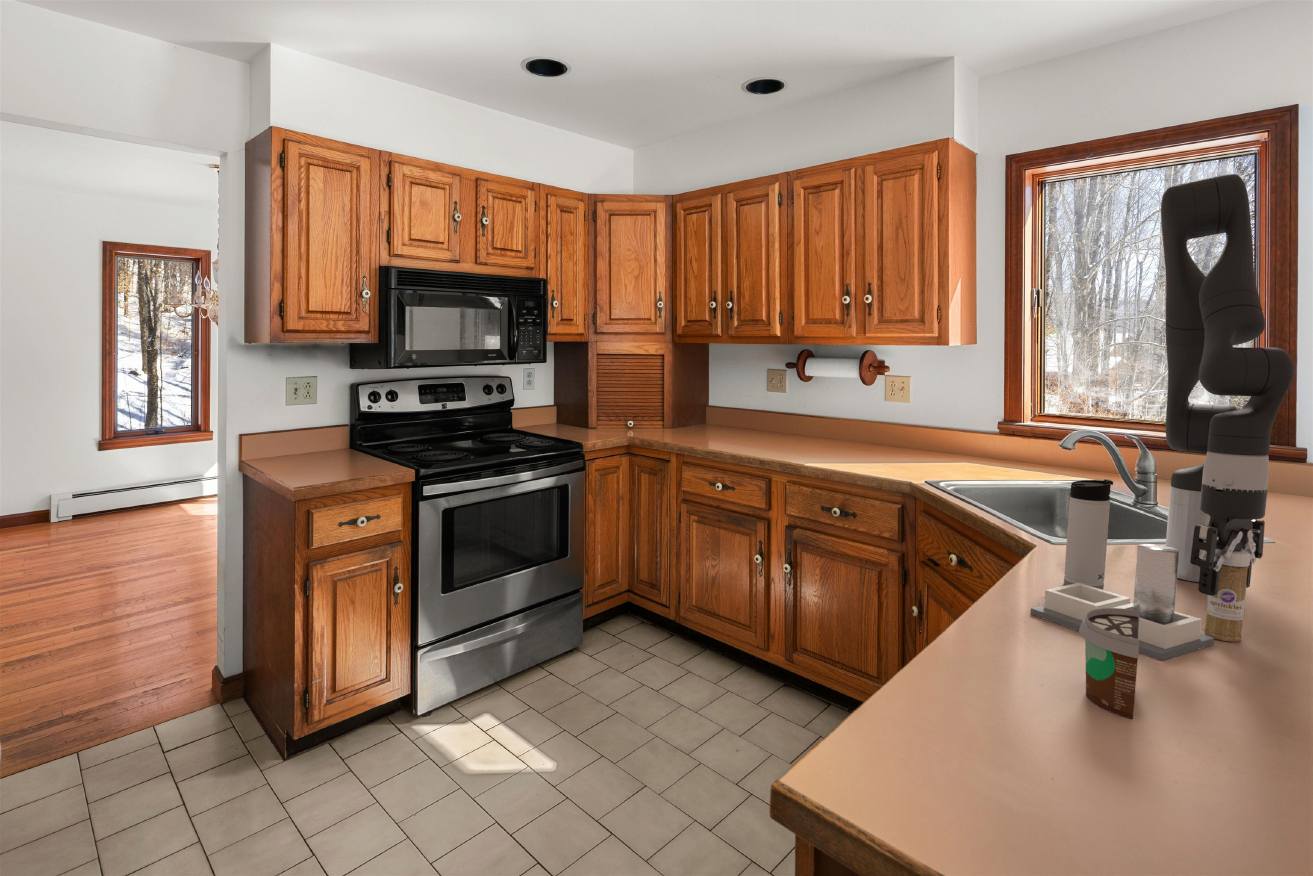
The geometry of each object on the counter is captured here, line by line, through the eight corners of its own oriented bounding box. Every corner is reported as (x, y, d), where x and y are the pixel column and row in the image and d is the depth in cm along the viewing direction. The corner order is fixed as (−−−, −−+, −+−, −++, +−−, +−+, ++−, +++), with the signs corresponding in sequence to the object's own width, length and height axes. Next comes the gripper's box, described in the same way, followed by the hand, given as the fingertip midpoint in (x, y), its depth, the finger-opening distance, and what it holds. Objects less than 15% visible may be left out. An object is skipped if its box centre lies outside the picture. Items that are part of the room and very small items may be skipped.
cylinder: (1143, 625, 108) (1150, 542, 107) (1179, 636, 104) (1187, 550, 103) (1123, 630, 106) (1130, 546, 105) (1159, 642, 102) (1166, 554, 100)
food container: (1078, 672, 95) (1083, 600, 93) (1134, 684, 91) (1140, 609, 90) (1070, 709, 84) (1076, 629, 83) (1132, 724, 81) (1139, 641, 80)
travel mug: (1111, 593, 126) (1119, 483, 124) (1071, 591, 127) (1078, 482, 125) (1097, 582, 132) (1104, 477, 130) (1058, 580, 133) (1065, 476, 131)
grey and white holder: (1081, 602, 122) (1082, 579, 121) (1213, 644, 104) (1215, 618, 103) (1030, 614, 116) (1031, 590, 115) (1161, 660, 98) (1163, 633, 98)
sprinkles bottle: (1209, 640, 105) (1217, 552, 104) (1199, 629, 109) (1206, 544, 108) (1247, 644, 103) (1256, 555, 102) (1235, 633, 108) (1243, 547, 106)
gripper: (1231, 477, 110) (1222, 578, 112) (1177, 482, 104) (1168, 589, 106) (1290, 484, 104) (1279, 591, 105) (1237, 491, 98) (1225, 604, 99)
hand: (1223, 590), depth 106 cm, fingers open, 8 cm apart
